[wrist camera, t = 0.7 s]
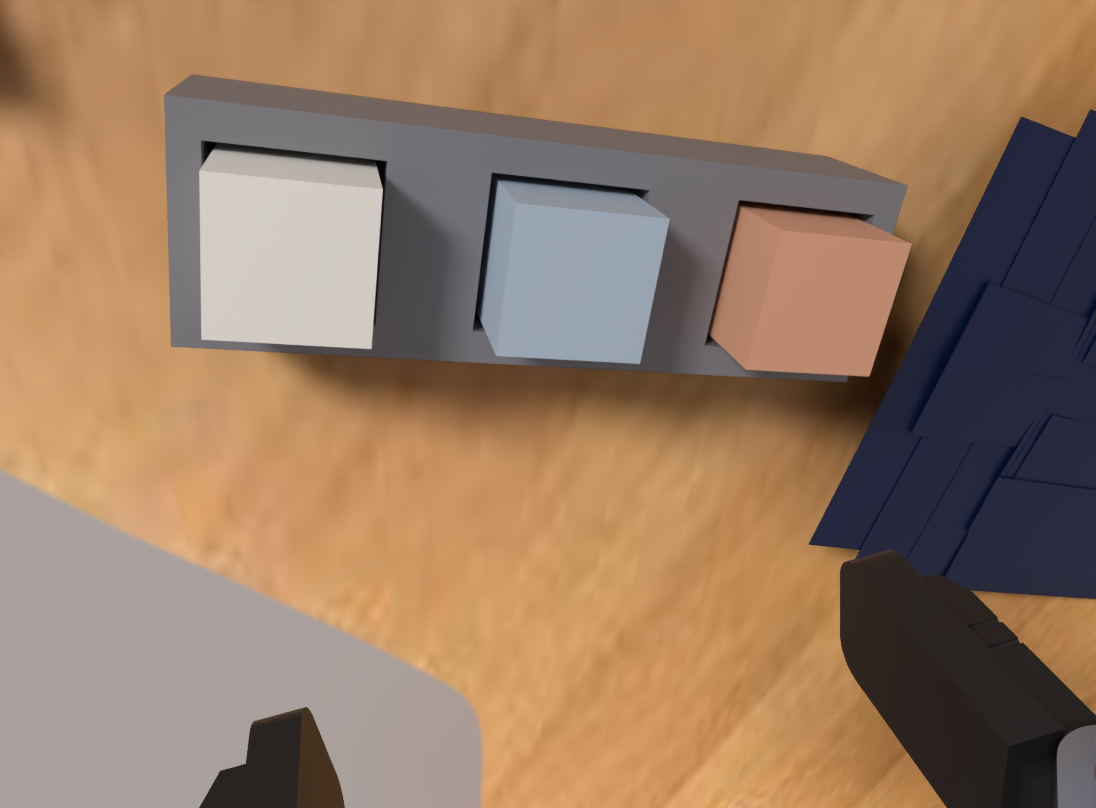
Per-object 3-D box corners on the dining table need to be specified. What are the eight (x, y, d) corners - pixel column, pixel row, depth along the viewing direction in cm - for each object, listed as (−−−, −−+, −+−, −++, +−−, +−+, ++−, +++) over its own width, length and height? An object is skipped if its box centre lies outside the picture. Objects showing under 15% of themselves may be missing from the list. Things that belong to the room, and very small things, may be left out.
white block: (372, 150, 31) (382, 189, 26) (363, 285, 33) (371, 349, 28) (223, 133, 30) (199, 170, 24) (223, 274, 32) (201, 339, 26)
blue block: (611, 177, 34) (669, 218, 28) (589, 301, 36) (639, 363, 30) (482, 162, 32) (516, 203, 27) (467, 292, 34) (496, 355, 29)
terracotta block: (819, 201, 36) (912, 243, 30) (787, 316, 38) (869, 376, 32) (707, 188, 35) (782, 230, 29) (681, 308, 37) (746, 369, 31)
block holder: (827, 156, 38) (907, 185, 33) (779, 330, 41) (846, 382, 36) (191, 74, 31) (164, 94, 26) (194, 289, 34) (171, 346, 29)
